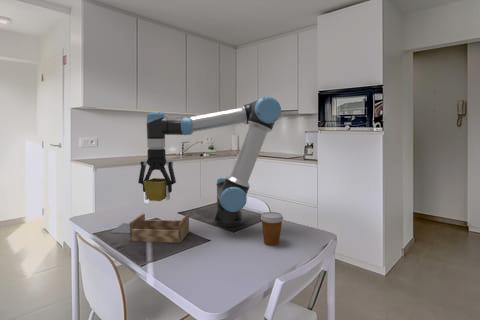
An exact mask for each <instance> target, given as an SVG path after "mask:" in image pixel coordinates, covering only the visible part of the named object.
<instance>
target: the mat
mask: <svg viewBox="0 0 480 320" xmlns="http://www.w3.org/2000/svg"><path fill="white" fill-rule="evenodd" d="M109 234H120V235H121V234H124V235H125V234H126V235H127V234H129V235H130V222H129V223H121V224H120V225H119V226H117V227H116V228H114V229H113V230H111V231H109Z"/></svg>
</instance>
